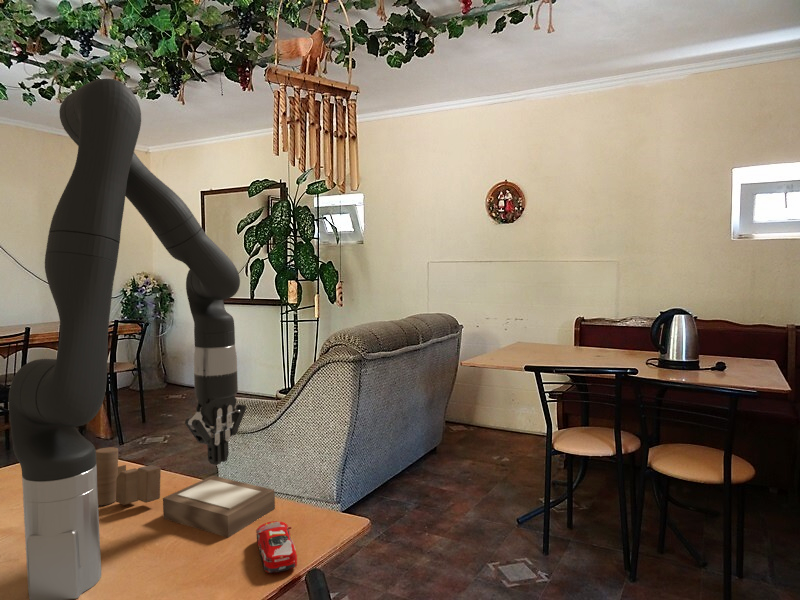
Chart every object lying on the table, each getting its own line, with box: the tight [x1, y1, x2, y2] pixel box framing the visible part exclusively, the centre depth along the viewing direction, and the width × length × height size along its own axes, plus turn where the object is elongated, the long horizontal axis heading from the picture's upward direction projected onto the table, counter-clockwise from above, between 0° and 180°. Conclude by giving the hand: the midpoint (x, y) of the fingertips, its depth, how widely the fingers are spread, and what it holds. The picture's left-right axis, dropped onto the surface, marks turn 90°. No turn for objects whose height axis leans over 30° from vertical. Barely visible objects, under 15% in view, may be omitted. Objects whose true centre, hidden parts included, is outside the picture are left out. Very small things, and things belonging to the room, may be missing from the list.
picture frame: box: [162, 475, 276, 538], centre depth 103 cm, size 16×12×4 cm
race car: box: [255, 520, 298, 574], centre depth 88 cm, size 13×5×4 cm, turn 19°
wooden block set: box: [95, 446, 162, 506], centre depth 110 cm, size 18×9×10 cm, turn 57°
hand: (218, 462), depth 103 cm, fingers closed
